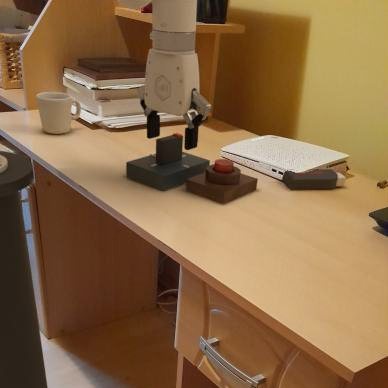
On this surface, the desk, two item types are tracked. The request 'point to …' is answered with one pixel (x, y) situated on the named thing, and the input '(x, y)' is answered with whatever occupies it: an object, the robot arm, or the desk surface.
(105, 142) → the desk surface
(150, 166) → the panel
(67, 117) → the cup
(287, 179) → the usb drive
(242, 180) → the button block
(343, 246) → the desk surface
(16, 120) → the desk surface
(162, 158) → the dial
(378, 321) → the desk surface
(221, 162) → the button
